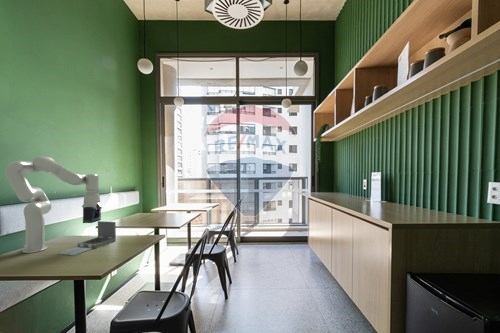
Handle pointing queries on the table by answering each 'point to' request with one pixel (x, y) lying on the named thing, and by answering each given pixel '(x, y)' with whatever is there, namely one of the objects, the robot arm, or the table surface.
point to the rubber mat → (75, 251)
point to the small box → (90, 215)
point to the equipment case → (102, 235)
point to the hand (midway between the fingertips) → (92, 217)
